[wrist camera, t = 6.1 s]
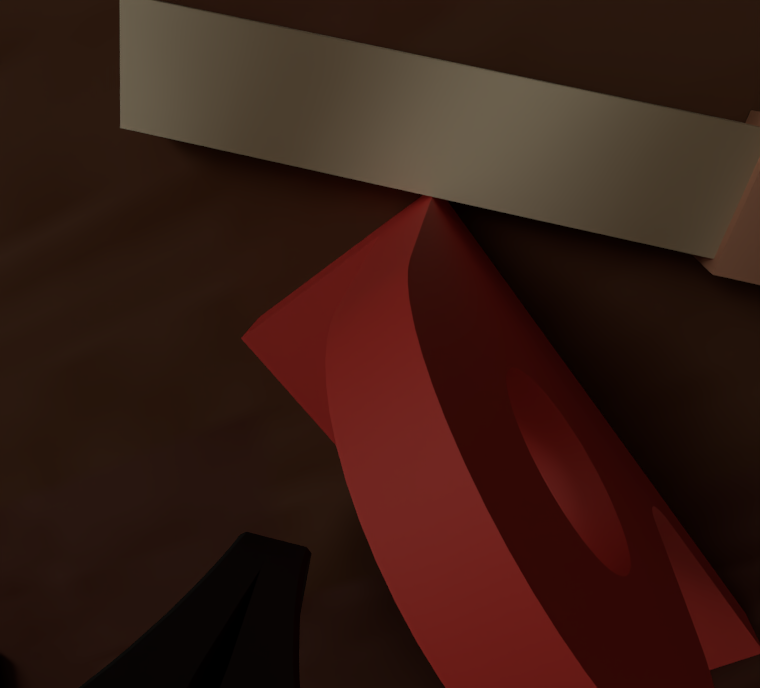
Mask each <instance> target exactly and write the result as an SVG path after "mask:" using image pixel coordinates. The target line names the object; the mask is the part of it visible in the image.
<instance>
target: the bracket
mask: <svg viewBox="0 0 760 688" xmlns="http://www.w3.org/2000/svg"><path fill="white" fill-rule="evenodd" d="M241 339H242V340H243V341H244V342H245V343H246V344H247V345H248V347H249V348H250V349H251V350H252V351H253V352H254V353H255V354H256V356H257V357H258V358H259V359H260V360H261V361H262V362H263V363H264V365H265V366H266V367H267V368H268V369H269V370H270V371H271V372H272V374H273V375H274V376H275V377H276V378H277V379H278V380H279V381H280V383H281V384H282V385H283V386H284V387H285V388H286V389H287V390H288V392H289V393H290V394H291V395H292V396H293V397H294V398H295V399H296V401H297V402H298V403H299V404H300V405H301V406H302V407H303V408H304V410H305V411H306V412H307V413H308V414H309V415H310V416H311V417H312V419H313V420H314V421H315V422H316V423H317V424H318V425H319V427H320V428H321V429H322V430H323V431H324V432H325V433H326V434H327V436H328V437H329V438H330V439H331V440H332V441H333V442H334V443H335V445H336V447H337V450H338V454H339V457H340V461H341V465H342V468H343V472H344V476H345V479H346V483H347V486H348V489H349V491H350V494H351V497H352V500H353V503H354V506H355V509H356V512H357V515H358V518H359V521H360V523H361V526H362V528H363V531H364V533H365V535H366V538H367V540H368V543H369V545H370V548H371V550H372V553H373V555H374V558H375V560H376V562H377V564H378V567H379V569H380V571H381V573H382V575H383V577H384V579H385V581H386V584H387V586H388V588H389V590H390V592H391V594H392V596H393V598H394V601H395V603H396V604H397V606H398V608H399V610H400V612H401V614H402V616H403V617H404V619H405V621H406V623H407V625H408V627H409V629H410V630H411V632H412V634H413V636H414V638H415V640H416V641H417V643H418V645H419V646H420V648H421V650H422V651H423V653H424V655H425V656H426V658H427V659H428V661H429V663H430V664H431V666H432V668H433V669H434V671H435V672H436V674H437V676H438V677H439V679H440V680H441V682H442V683H443V685H444V686H445V688H714V684H713V681H712V677H711V674H710V670H711V669H715V668H718V667H721V666H724V665H727V664H730V663H733V662H736V661H739V660H742V659H746V658H749V657H752V656H755V655H758V654H760V643H759V641H758V638H757V636H756V634H755V632H754V630H753V628H752V626H751V624H750V622H749V619H748V617H747V615H746V613H745V612H744V610H743V609H742V608H741V606H740V605H739V604H738V602H737V601H736V599H735V598H734V597H733V595H732V594H731V592H730V591H729V590H728V588H727V587H726V586H725V584H724V583H723V581H722V580H721V579H720V577H719V576H718V575H717V573H716V572H715V570H714V569H713V568H712V566H711V565H710V563H709V562H708V561H707V559H706V558H705V557H704V555H703V554H702V552H701V551H700V550H699V548H698V547H697V545H696V544H695V543H694V541H693V540H692V539H691V537H690V536H689V534H688V533H687V532H686V530H685V529H684V527H683V526H682V525H681V523H680V522H679V521H678V519H677V518H676V516H675V515H674V514H673V512H672V511H671V509H670V508H669V507H668V505H667V504H666V503H665V501H664V500H663V498H662V497H661V496H660V494H659V493H658V491H657V490H656V489H655V487H654V486H653V485H652V483H651V482H650V480H649V479H648V478H647V476H646V475H645V473H644V472H643V471H642V469H641V468H640V467H639V465H638V464H637V462H636V461H635V460H634V458H633V457H632V455H631V454H630V453H629V451H628V450H627V449H626V447H625V446H624V444H623V443H622V442H621V440H620V439H619V437H618V436H617V435H616V433H615V432H614V431H613V429H612V428H611V426H610V425H609V424H608V422H607V421H606V419H605V418H604V417H603V415H602V414H601V413H600V411H599V410H598V408H597V407H596V406H595V404H594V403H593V401H592V400H591V399H590V397H589V396H588V395H587V393H586V392H585V390H584V389H583V388H582V386H581V385H580V383H579V382H578V381H577V379H576V378H575V377H574V375H573V374H572V372H571V371H570V370H569V368H568V367H567V365H566V364H565V363H564V361H563V360H562V359H561V357H560V356H559V354H558V353H557V352H556V350H555V349H554V347H553V346H552V345H551V343H550V342H549V341H548V339H547V338H546V336H545V335H544V334H543V332H542V331H541V329H540V328H539V327H538V325H537V324H536V323H535V321H534V320H533V318H532V317H531V316H530V314H529V313H528V311H527V310H526V309H525V307H524V306H523V305H522V303H521V302H520V300H519V299H518V298H517V296H516V295H515V293H514V292H513V291H512V289H511V288H510V287H509V285H508V284H507V282H506V281H505V280H504V278H503V277H502V275H501V274H500V273H499V271H498V270H497V269H496V267H495V266H494V264H493V263H492V262H491V260H490V259H489V258H488V256H487V255H486V253H485V252H484V251H483V249H482V248H481V246H480V245H479V244H478V242H477V241H476V240H475V238H474V237H473V235H472V234H471V233H470V231H469V230H468V228H467V227H466V226H465V224H464V223H463V222H462V220H461V219H460V217H459V216H458V215H457V213H456V212H455V210H454V209H453V208H452V206H451V205H450V204H449V202H448V201H447V200H445V199H440V198H436V197H431V196H427V195H422V196H421V197H419V198H418V199H417V200H415V201H414V202H413V203H411V204H410V205H409V206H407V207H406V208H405V209H403V210H402V211H401V212H399V213H398V214H397V215H395V216H394V217H393V218H391V219H390V220H389V221H387V222H386V223H385V224H383V225H382V226H381V227H379V228H378V229H377V230H375V231H374V232H373V233H371V234H370V235H369V236H367V237H366V238H365V239H363V240H362V241H361V242H359V243H358V244H357V245H355V246H354V247H353V248H351V249H350V250H349V251H347V252H346V253H345V254H343V255H342V256H341V257H339V258H338V259H337V260H335V261H334V262H333V263H331V264H330V265H329V266H327V267H326V268H325V269H323V270H322V271H321V272H319V273H318V274H317V275H315V276H314V277H313V278H311V279H310V280H309V281H307V282H306V283H305V284H303V285H302V286H301V287H299V288H298V289H297V290H295V291H294V292H293V293H291V294H290V295H289V296H287V297H286V298H285V299H283V300H282V301H281V302H279V303H278V304H277V305H275V306H274V307H272V308H271V309H270V310H268V311H267V312H266V313H264V314H263V315H262V316H260V317H259V318H258V319H257V320H256V321H255V323H254V324H253V325H252V326H251V327H250V328H249V330H248V331H247V332H246V333H245V334H244V335H243V337H242V338H241Z"/></svg>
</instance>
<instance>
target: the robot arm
mask: <svg viewBox="0 0 760 688" xmlns="http://www.w3.org/2000/svg"><path fill="white" fill-rule="evenodd" d="M310 558H311V552H310V551H309V550H308V548H307V547H304V546H300V545H296V544H292V543H288V542H284V541H280V540H276V539H272V538H268V537H264V536H260V535H257V534H253V533H249V532H245V533H243V534H241V535H240V536H239V537H238V538H237V539H236V541H235V542H234V543H233V544H232V546H231V547H230V548H229V549H228V550H227V551H226V553H225V554H224V555H223V556H222V557H221V558H220V560H219V561H218V562H217V563H216V564H215V565H214V566H213V567H212V568H211V569H210V570H209V571H208V573H207V574H206V575H205V576H204V577H203V578H202V579H201V580H200V581H199V582H198V583H197V584H196V585H195V586H194V587H193V588H192V589H191V590H190V591H189V592H188V593H187V594H186V595H185V596H184V597H183V598H182V599H181V600H180V601H179V602H178V603H177V604H176V605H175V606H174V607H173V608H172V609H171V610H170V611H169V612H168V613H167V614H166V615H165V616H163V617H162V618H161V619H160V620H159V621H158V622H157V623H156V624H155V625H153V626H152V627H151V628H150V629H149V630H148V631H147V632H146V633H144V634H143V635H142V636H141V637H140V638H139V639H138V640H137V641H135V642H134V643H133V644H132V645H131V646H130V647H129V648H128V649H126V650H125V651H124V652H123V653H122V654H120V655H119V656H118V657H117V658H116V659H114V660H113V661H112V662H111V663H110V664H108V665H107V666H106V667H105V668H103V669H102V670H101V671H100V672H98V673H97V674H96V675H95V676H93V677H92V678H91V679H89V680H88V681H87V682H85V683H84V684H83V685H82V686H80V687H79V688H300V681H299V629H300V612H301V607H302V602H303V596H304V591H305V585H306V580H307V574H308V569H309V563H310Z"/></svg>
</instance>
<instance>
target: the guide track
mask: <svg viewBox="0 0 760 688" xmlns="http://www.w3.org/2000/svg"><path fill="white" fill-rule="evenodd" d="M120 128H124V129H129V130H133V131H138V132H142V133H147V134H151V135H156V136H160V137H165V138H169V139H174V140H178V141H183V142H187V143H192V144H196V145H201V146H205V147H210V148H214V149H219V150H223V151H228V152H232V153H237V154H242V155H246V156H251V157H255V158H260V159H264V160H269V161H273V162H278V163H282V164H287V165H291V166H296V167H300V168H305V169H309V170H314V171H318V172H323V173H327V174H332V175H336V176H341V177H345V178H350V179H354V180H359V181H363V182H368V183H373V184H377V185H382V186H386V187H391V188H395V189H400V190H404V191H409V192H413V193H418V194H422V195H427V196H431V197H436V198H440V199H445V200H449V201H454V202H458V203H463V204H467V205H472V206H476V207H481V208H485V209H490V210H495V211H499V212H504V213H508V214H513V215H517V216H522V217H526V218H531V219H535V220H540V221H544V222H549V223H553V224H558V225H562V226H567V227H571V228H576V229H580V230H585V231H589V232H594V233H598V234H603V235H607V236H612V237H617V238H621V239H626V240H630V241H635V242H639V243H644V244H648V245H653V246H657V247H662V248H666V249H671V250H675V251H680V252H684V253H689V254H691V255H692V256H693V257H694V258H695V259H697V260H698V261H699V262H700V263H701V264H702V265H703V266H704V267H705V268H706V269H707V270H708V271H709V272H710V273H711V274H713V275H717V276H721V277H726V278H730V279H735V280H739V281H744V282H748V283H753V284H757V285H760V112H758V111H753V110H751V111H750V114H749V116H748V118H747V120H746V123H742V122H737V121H732V120H727V119H723V118H718V117H713V116H708V115H703V114H699V113H694V112H689V111H684V110H680V109H675V108H670V107H665V106H660V105H656V104H651V103H646V102H641V101H636V100H632V99H627V98H622V97H617V96H612V95H608V94H603V93H598V92H593V91H589V90H584V89H579V88H574V87H569V86H565V85H560V84H555V83H550V82H545V81H541V80H536V79H531V78H526V77H521V76H517V75H512V74H507V73H502V72H497V71H493V70H488V69H483V68H478V67H474V66H469V65H464V64H459V63H454V62H450V61H445V60H440V59H435V58H430V57H426V56H421V55H416V54H411V53H406V52H402V51H397V50H392V49H387V48H383V47H378V46H373V45H368V44H363V43H359V42H354V41H349V40H344V39H339V38H335V37H330V36H325V35H320V34H315V33H311V32H306V31H301V30H296V29H291V28H287V27H282V26H277V25H272V24H268V23H263V22H258V21H253V20H248V19H244V18H239V17H234V16H229V15H224V14H220V13H215V12H210V11H205V10H200V9H196V8H191V7H186V6H181V5H177V4H172V3H167V2H162V1H157V0H120Z"/></svg>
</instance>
